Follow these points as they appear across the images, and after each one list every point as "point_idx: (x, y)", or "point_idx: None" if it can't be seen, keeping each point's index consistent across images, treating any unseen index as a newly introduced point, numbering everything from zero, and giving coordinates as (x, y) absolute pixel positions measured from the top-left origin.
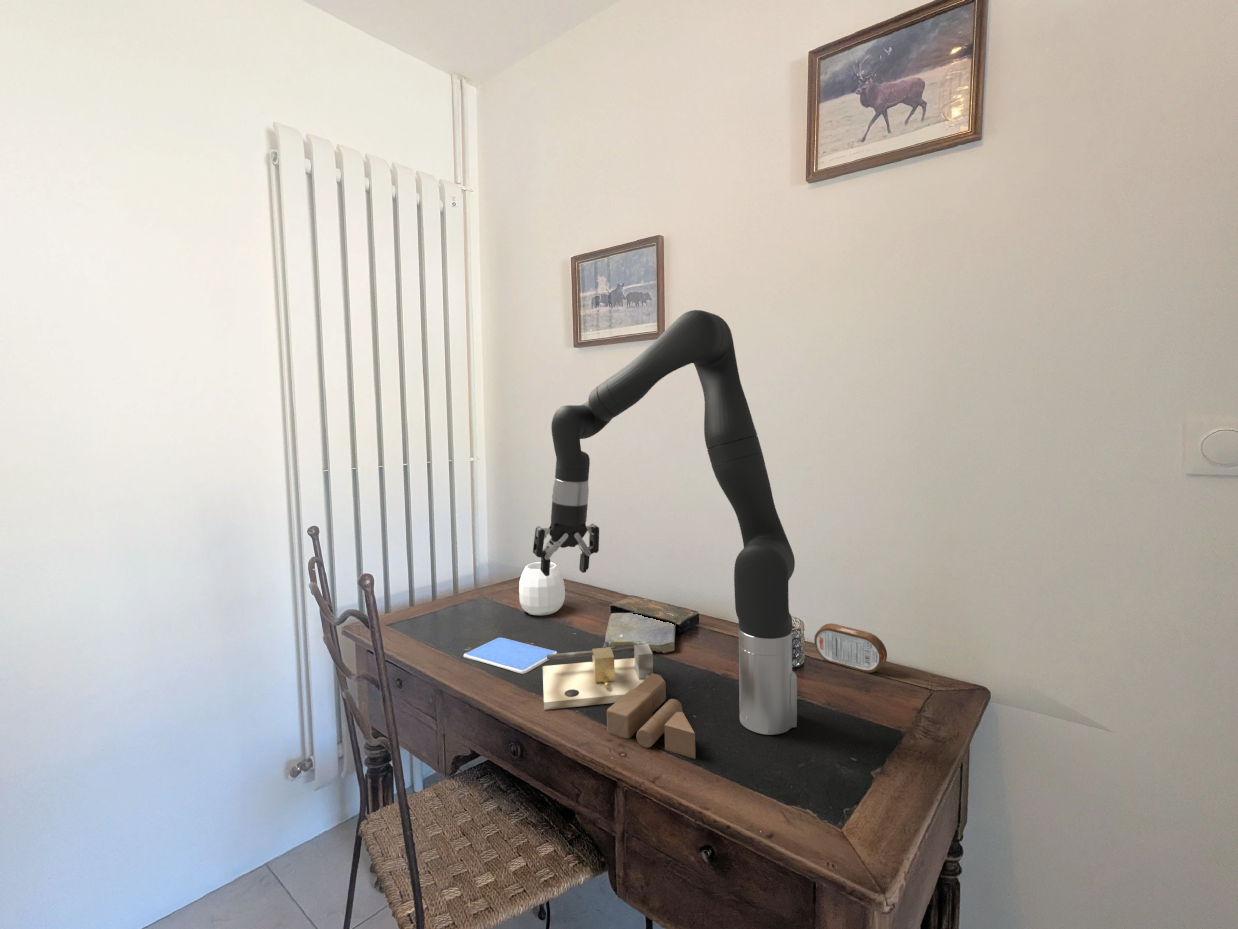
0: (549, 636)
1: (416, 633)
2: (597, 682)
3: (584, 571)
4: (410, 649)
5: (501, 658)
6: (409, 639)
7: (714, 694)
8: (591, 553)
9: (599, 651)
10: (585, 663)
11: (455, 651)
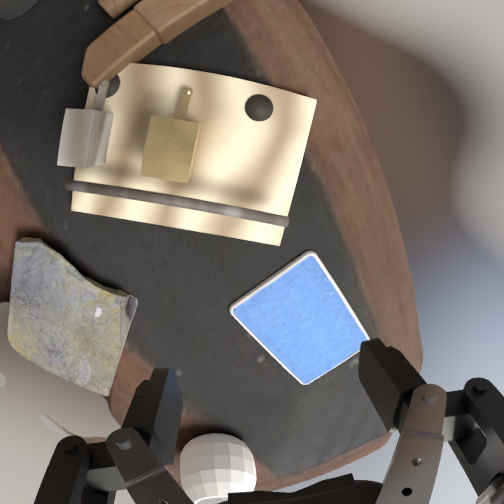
0: (225, 374)
1: None
2: None
3: (163, 368)
4: None
5: (329, 313)
6: None
7: (28, 63)
8: (105, 444)
9: (174, 160)
10: (193, 225)
11: None
